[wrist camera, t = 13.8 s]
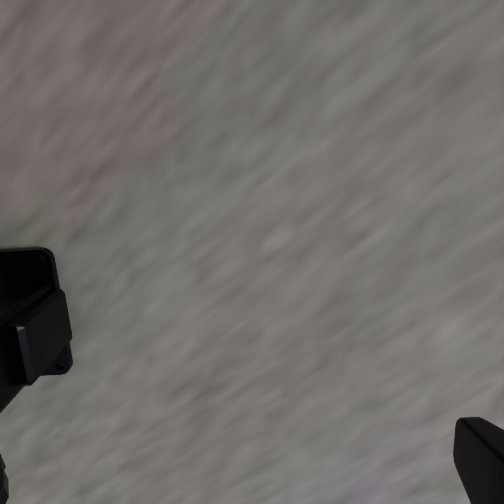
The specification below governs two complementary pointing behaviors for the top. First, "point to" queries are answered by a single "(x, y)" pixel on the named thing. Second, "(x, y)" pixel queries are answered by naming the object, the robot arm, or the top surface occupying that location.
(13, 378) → the robot arm
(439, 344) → the top surface
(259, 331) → the top surface
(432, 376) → the top surface
